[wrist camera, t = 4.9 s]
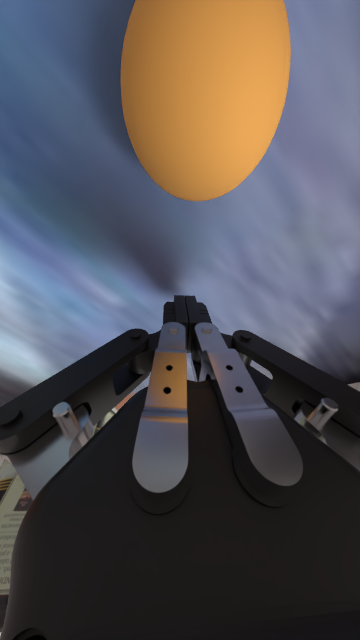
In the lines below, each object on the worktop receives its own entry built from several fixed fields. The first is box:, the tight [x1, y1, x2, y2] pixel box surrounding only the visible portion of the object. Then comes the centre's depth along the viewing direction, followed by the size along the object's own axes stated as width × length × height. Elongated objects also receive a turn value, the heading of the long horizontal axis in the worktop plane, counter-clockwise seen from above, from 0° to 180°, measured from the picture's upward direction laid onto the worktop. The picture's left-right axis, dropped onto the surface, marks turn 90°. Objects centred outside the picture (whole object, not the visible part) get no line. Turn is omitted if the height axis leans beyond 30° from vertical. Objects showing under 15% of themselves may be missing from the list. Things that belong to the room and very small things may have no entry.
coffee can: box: [0, 407, 118, 632], centre depth 18 cm, size 10×10×14 cm
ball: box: [121, 0, 291, 201], centre depth 7 cm, size 6×6×6 cm
